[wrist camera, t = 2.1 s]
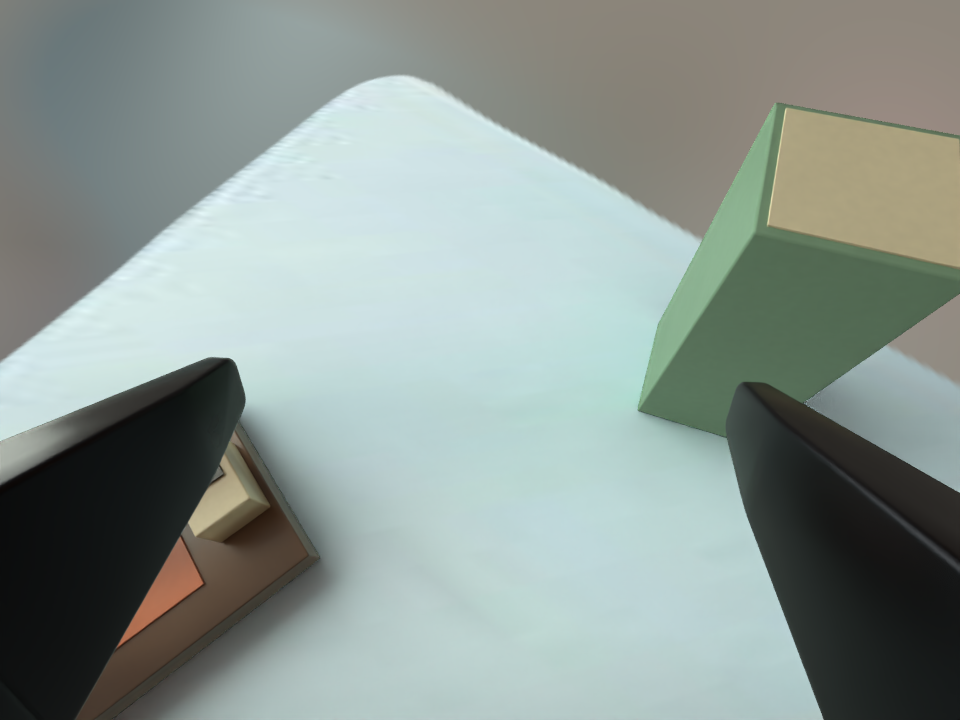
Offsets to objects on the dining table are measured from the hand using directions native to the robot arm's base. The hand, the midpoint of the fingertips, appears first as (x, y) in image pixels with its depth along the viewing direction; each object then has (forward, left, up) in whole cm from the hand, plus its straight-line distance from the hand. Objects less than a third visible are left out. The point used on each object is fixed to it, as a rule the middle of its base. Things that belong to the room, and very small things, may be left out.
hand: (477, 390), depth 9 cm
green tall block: (-1, -12, -15) cm, 19 cm away
